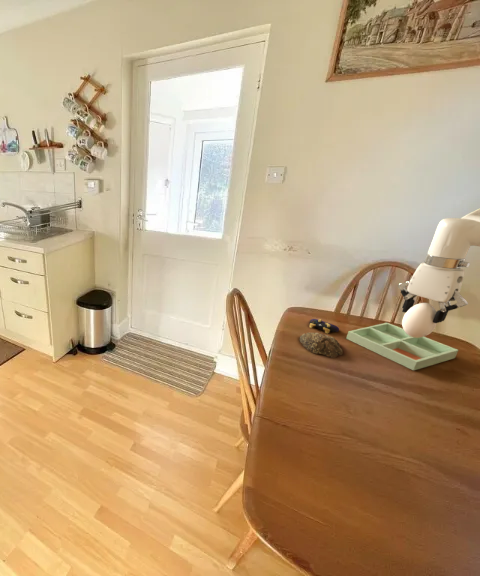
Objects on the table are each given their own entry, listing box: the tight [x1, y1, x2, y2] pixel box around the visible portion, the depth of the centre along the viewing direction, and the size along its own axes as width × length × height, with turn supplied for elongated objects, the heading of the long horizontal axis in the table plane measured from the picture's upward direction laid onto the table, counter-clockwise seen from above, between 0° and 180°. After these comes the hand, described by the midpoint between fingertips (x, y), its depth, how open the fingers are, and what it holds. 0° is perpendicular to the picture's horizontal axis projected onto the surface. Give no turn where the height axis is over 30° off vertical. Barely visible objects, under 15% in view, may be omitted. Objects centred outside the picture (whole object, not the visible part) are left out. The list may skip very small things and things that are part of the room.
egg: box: [401, 302, 438, 338], centre depth 97 cm, size 7×7×12 cm
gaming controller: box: [308, 318, 340, 334], centre depth 122 cm, size 10×5×6 cm
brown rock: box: [299, 332, 343, 358], centre depth 109 cm, size 13×12×5 cm
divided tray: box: [345, 322, 459, 371], centre depth 108 cm, size 20×20×4 cm
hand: (421, 316), depth 97 cm, fingers closed on egg, 7 cm apart
